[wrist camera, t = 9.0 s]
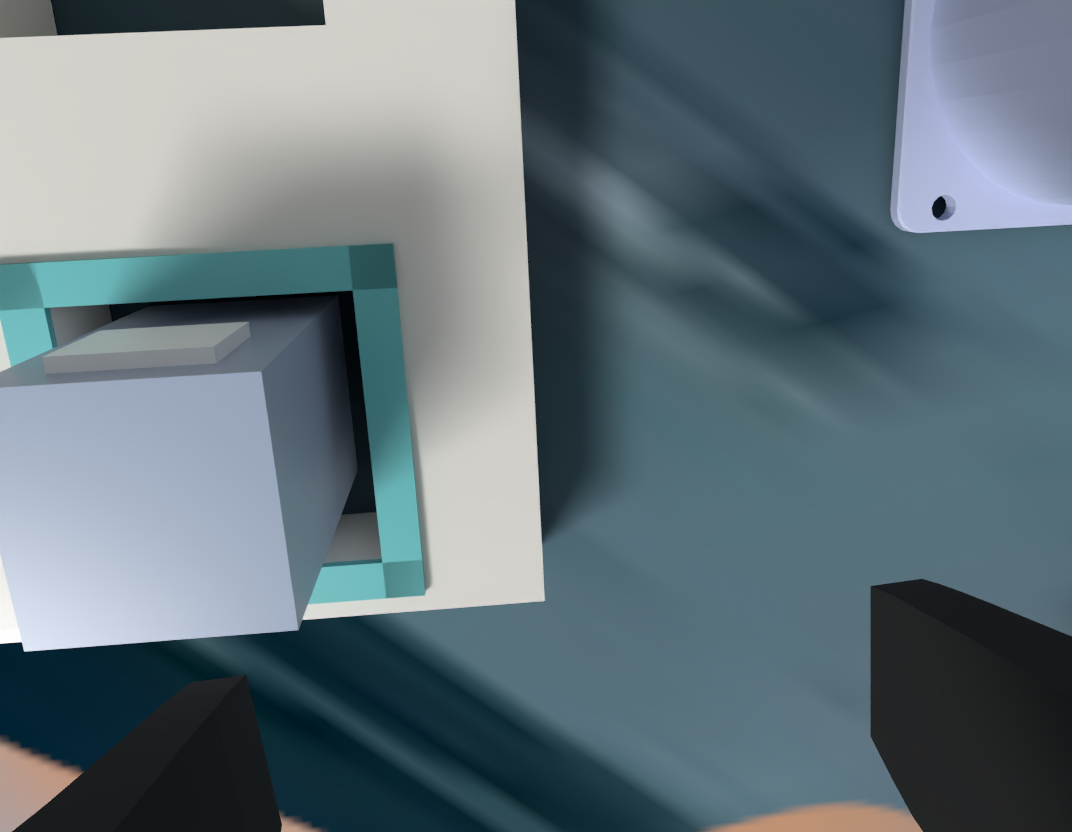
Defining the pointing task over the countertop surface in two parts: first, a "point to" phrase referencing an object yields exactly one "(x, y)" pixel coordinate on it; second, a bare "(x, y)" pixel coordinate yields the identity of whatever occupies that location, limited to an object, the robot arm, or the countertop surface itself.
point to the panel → (306, 247)
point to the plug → (175, 473)
